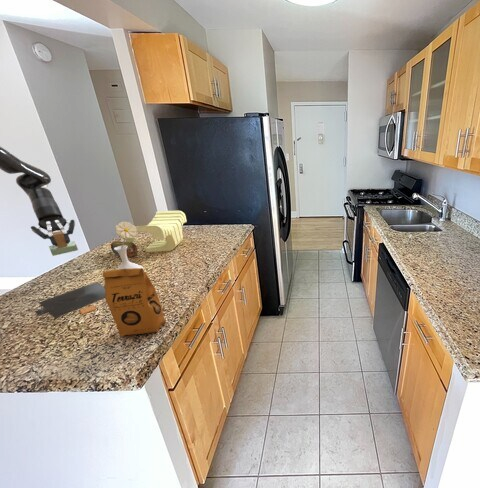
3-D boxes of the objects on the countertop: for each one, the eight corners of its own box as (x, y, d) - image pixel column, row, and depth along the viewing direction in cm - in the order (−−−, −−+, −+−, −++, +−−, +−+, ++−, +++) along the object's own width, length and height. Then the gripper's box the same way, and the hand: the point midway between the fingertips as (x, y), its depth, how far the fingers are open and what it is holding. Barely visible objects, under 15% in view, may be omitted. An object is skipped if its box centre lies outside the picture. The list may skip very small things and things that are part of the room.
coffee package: (157, 336, 82) (138, 275, 74) (114, 340, 81) (90, 278, 72) (170, 316, 91) (154, 260, 83) (132, 320, 90) (112, 263, 82)
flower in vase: (116, 283, 112) (98, 229, 103) (111, 275, 120) (93, 223, 110) (151, 273, 121) (136, 222, 112) (144, 265, 128) (130, 217, 119)
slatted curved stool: (169, 256, 138) (161, 225, 132) (137, 258, 137) (127, 226, 130) (190, 237, 166) (184, 210, 159) (163, 238, 164) (157, 211, 158)
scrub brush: (52, 256, 107) (44, 237, 103) (50, 251, 110) (42, 233, 106) (78, 250, 113) (71, 232, 109) (75, 245, 115) (69, 228, 112)
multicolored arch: (112, 255, 140) (107, 240, 137) (118, 253, 143) (113, 238, 140) (135, 258, 137) (130, 243, 134) (140, 255, 140) (136, 241, 137)
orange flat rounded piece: (83, 317, 91) (81, 314, 90) (81, 313, 93) (79, 309, 93) (97, 312, 94) (96, 308, 93) (95, 307, 96) (93, 304, 96)
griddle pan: (46, 325, 87) (45, 322, 87) (30, 308, 96) (29, 305, 96) (123, 293, 106) (123, 290, 105) (104, 281, 114) (103, 279, 114)
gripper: (20, 208, 103) (35, 244, 100) (67, 202, 113) (83, 234, 110) (25, 218, 108) (40, 253, 105) (70, 212, 118) (85, 243, 115)
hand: (62, 243), depth 108 cm, fingers closed on scrub brush, 3 cm apart
